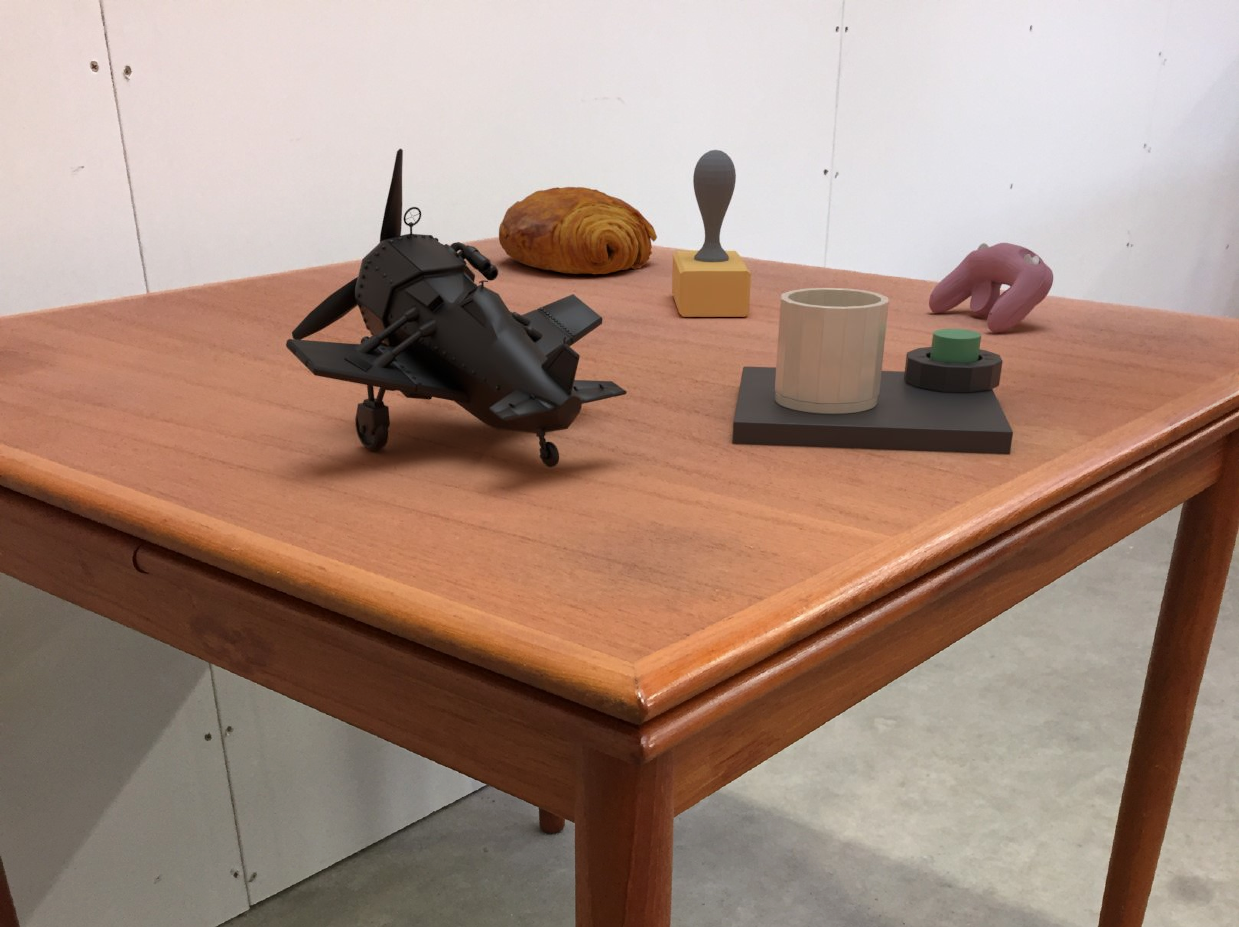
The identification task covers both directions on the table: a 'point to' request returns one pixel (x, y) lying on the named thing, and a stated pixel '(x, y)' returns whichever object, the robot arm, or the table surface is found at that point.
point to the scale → (888, 411)
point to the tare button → (955, 345)
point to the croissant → (576, 232)
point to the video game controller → (996, 284)
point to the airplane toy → (451, 338)
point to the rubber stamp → (712, 250)
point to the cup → (830, 350)
